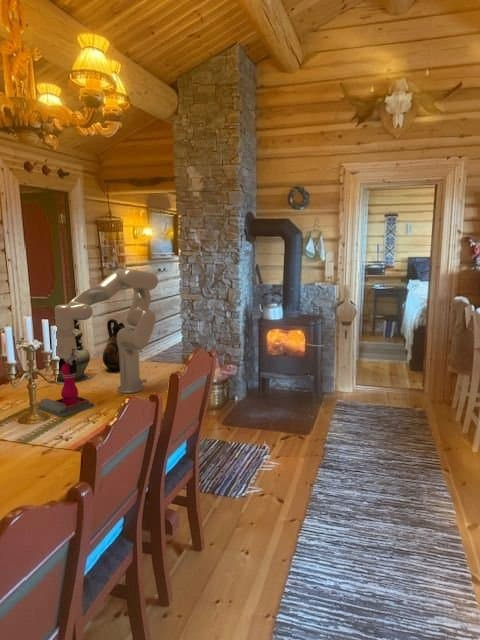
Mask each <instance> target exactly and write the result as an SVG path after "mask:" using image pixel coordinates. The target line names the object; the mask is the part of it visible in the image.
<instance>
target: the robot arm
mask: <svg viewBox="0 0 480 640" xmlns="http://www.w3.org/2000/svg"><path fill="white" fill-rule="evenodd" d="M158 285H159V279H158V277H157V275H156V274H155V273H153V272H150V271H143V270H136V269H133V268H132V269H131V268H118V269H115V270H114V271H113V272H111V273H110V274H109V275H107V276H106V277H105V278H104V279H103V280H102V281H100V282H98V284H96V285H94V286H92V287H89V288H88V289H87V290H84V291H83V292H81V293H79V294H78V295H76V296H75V297H73V299H72V300H70V301H69V302H68V303H66V304H58V305H56V306H55V307H54V318H55V320H54V322H55V324H56V327H57V331H56V339H57V346H56V356H58V357H59V358H60V360H59V371H61V367H62V365H63V364H65V363H66V361H65V359H66V360H68V359H69V362H70V365H69V367H70V374H73V373H77V365H76V364H77V362H78V359H79V355H78V354H77V346H76V340H75V332H74V320H77V321H86V320H89V319H90V318H91V317H92V316H93V313H94V310H93V308H92V305H95V304H98V303H101V302H105V301H108V300H110V299H111V298H113V296H115V295H116V294H117V293H119V291H120V290H122V289H123V288H132V290H133V300H132V302H131V305H130V308H129V311H128V313H127V315H126V322H127V324H129V325H130V326H133V327H135V328H132V327H125V328H123V329H121V330H120V331H119V332H118V333H117V344H118V349H119V362H120V372H119V378H120V379H119V381H120V382H119V383H120V386H118V387H117V392H118V393H121V394H135V393H139V392H141V391H143V390H144V386H143V384H144V383H147V382H148V381H147V378H143V379H141V377H140V376H141V374H140V352H139V350H140V351H141V350H143V349H145V348H146V346H147V345H148V343H149V341H150V338H151V336H152V333H153V330H154V327H155V324H156V315H155V313H154V311H152V310H151V309H150V305H151V302H152V297H151V291H152V290H154V289H156V287H157V286H158ZM71 357H72V358H71ZM72 359H73V361H72Z"/></svg>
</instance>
